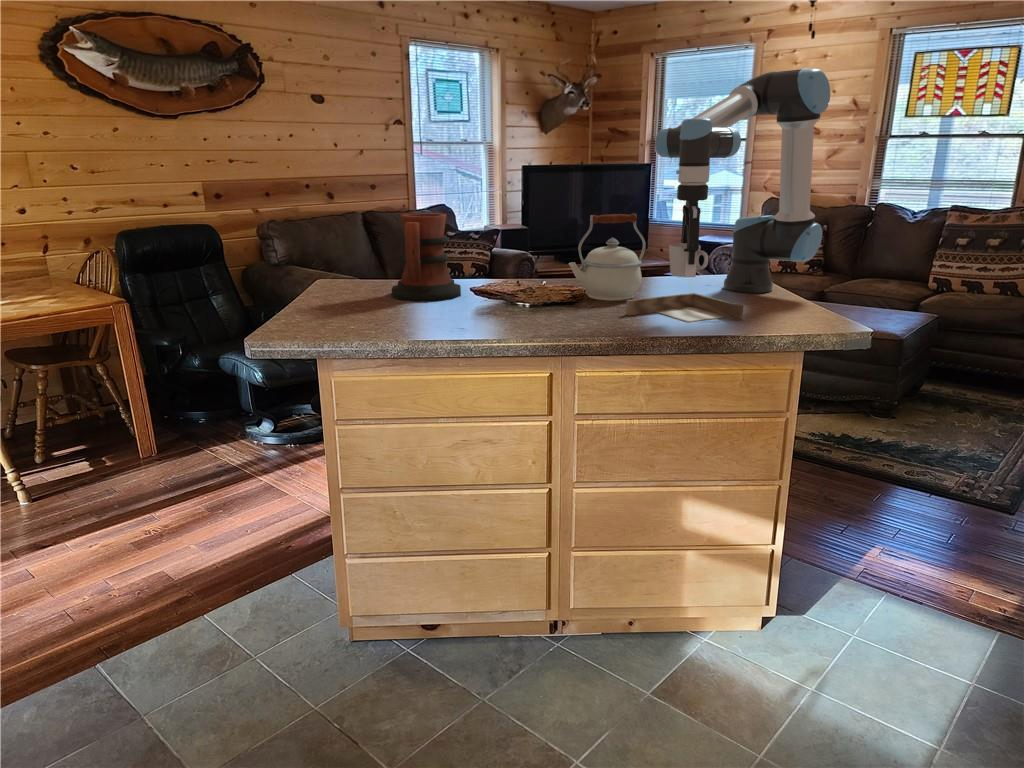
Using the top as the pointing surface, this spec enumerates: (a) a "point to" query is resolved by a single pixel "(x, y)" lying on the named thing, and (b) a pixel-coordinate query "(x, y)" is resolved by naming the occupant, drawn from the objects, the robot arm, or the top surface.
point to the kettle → (610, 265)
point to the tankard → (425, 261)
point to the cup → (683, 259)
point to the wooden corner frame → (686, 307)
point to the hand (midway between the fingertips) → (687, 273)
